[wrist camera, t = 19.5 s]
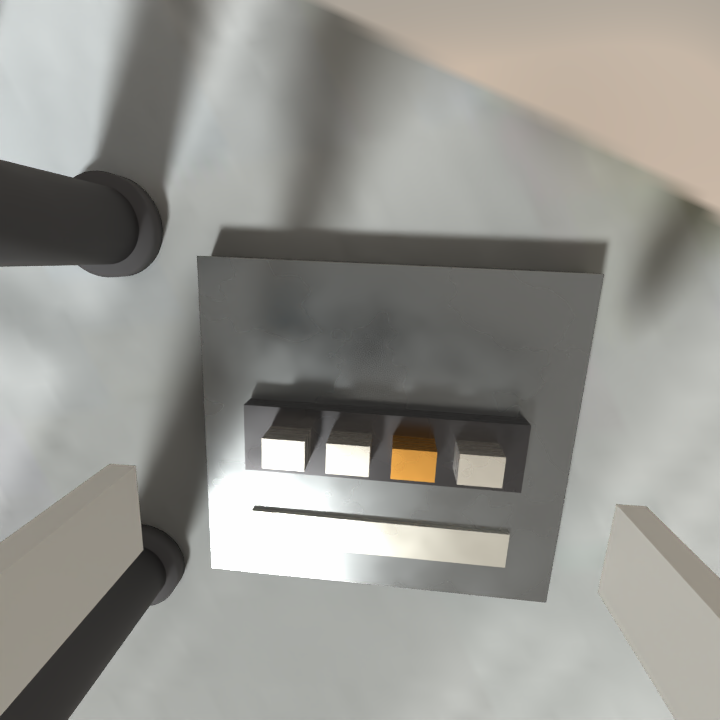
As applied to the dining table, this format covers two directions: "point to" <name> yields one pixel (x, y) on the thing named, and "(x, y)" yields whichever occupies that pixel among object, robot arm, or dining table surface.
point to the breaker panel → (392, 419)
